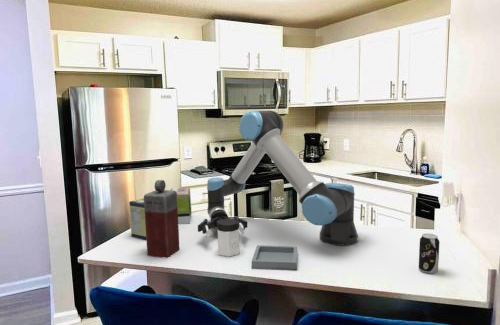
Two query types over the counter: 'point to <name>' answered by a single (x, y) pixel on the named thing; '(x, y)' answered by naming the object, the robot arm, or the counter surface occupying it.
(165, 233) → the red square bottle
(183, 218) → the tea box
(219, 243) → the jar
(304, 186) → the robot arm
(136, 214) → the protein box
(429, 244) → the beverage can
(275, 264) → the tray
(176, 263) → the counter surface
